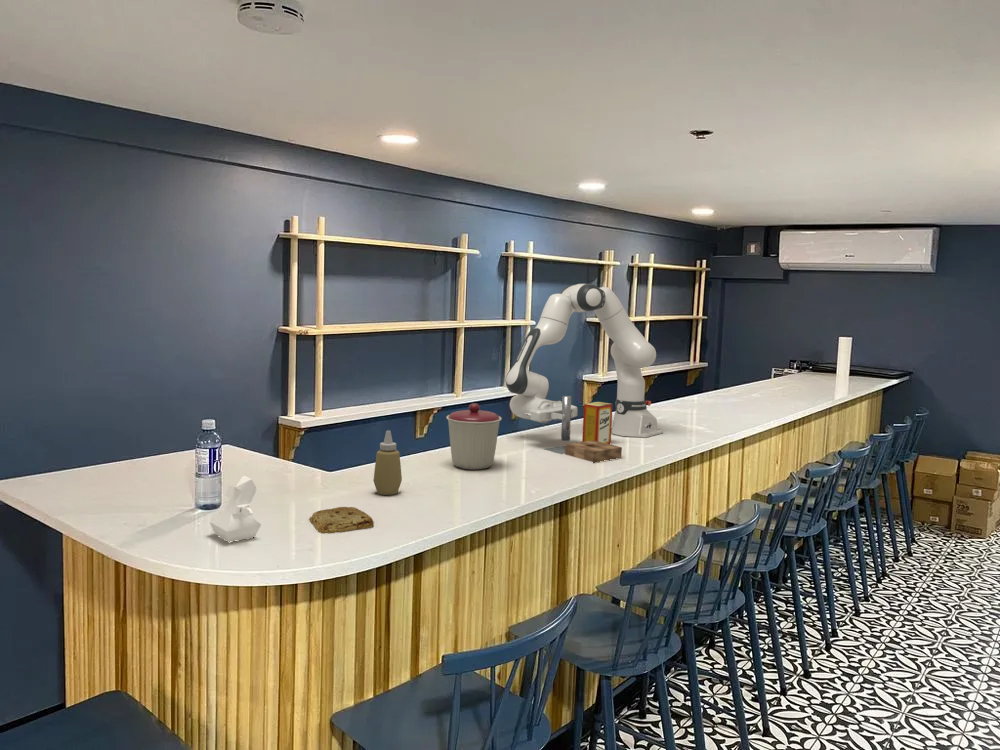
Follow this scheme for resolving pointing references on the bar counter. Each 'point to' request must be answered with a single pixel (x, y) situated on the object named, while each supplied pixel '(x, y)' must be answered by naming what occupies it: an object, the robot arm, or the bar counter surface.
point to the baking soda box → (597, 422)
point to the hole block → (593, 451)
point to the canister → (473, 437)
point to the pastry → (340, 520)
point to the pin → (566, 418)
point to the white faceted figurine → (237, 513)
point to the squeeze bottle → (387, 467)
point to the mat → (557, 449)
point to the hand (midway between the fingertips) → (567, 416)
